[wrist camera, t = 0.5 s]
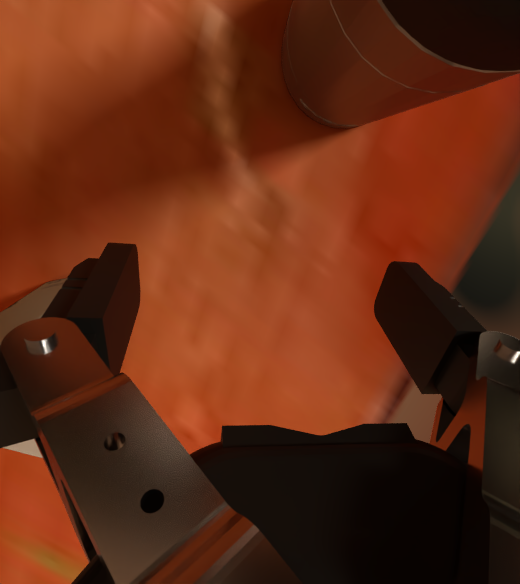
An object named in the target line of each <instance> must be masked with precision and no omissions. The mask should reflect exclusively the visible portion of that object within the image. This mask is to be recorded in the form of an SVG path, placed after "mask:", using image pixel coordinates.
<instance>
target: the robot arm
mask: <svg viewBox="0 0 520 584" xmlns="http://www.w3.org/2000/svg"><path fill="white" fill-rule="evenodd" d="M282 68H283V73H284V79H285V82H286V85H287V87H288V90H289V92H290V94H291V96H292V98H293V99H294V101H295V102H296V104H297V105H298V107H299V108H300V109H301V110H302V111H303V112H304V113H305V114H307V115H308V116H309V117H310V118H312V119H314V120H315V121H317V122H319V123H320V124H323V125H327V126H330V127H334V128H351V127H357V126H361V125H364V124H367V123H370V122H373V121H377V120H380V119H383V118H386V117H389V116H392V115H395V114H398V113H401V112H404V111H407V110H410V109H413V108H416V107H419V106H422V105H425V104H428V103H431V102H434V101H438V100H441V99H444V98H447V97H450V96H453V95H456V94H459V93H462V92H465V91H468V90H471V89H474V88H477V87H480V86H483V85H486V84H488V83H491V82H494V81H497V80H500V79H503V78H506V77H509V76H512V75H515V74H518V73H520V0H293V3H292V6H291V9H290V13H289V17H288V21H287V24H286V28H285V32H284V38H283V44H282ZM139 304H140V279H139V266H138V252H137V247H136V245H135V244H123V243H108V244H107V245H106V247H105V249H104V251H103V252H102V254H101V256H100V258H99V259H95V258H88V259H86V260H85V261H83V262H81V263H80V264H78V265H77V266H75V267H74V268H73V270H72V271H71V273H70V275H69V276H68V279H67V280H66V281H65V282H64V284H63V285H62V289H60V290H59V291H58V293H57V294H56V296H55V297H54V299H53V300H52V302H51V303H50V305H49V306H48V308H47V309H46V311H45V313H44V314H43V316H42V317H41V318H40V319H35V320H31V321H28V322H26V323H23V324H21V325H19V326H17V327H16V328H14V329H12V330H11V331H10V332H9V333H8V334H7V335H6V336H5V337H4V338H3V340H2V342H1V345H0V448H3V447H7V446H10V445H14V444H17V443H21V442H25V441H28V440H32V439H34V440H35V442H36V444H37V446H38V449H39V451H40V453H41V455H42V457H43V460H44V462H45V464H46V466H47V468H48V471H49V473H50V475H51V477H52V479H53V482H54V484H55V486H56V488H57V490H58V492H59V495H60V497H61V499H62V501H63V504H64V506H65V508H66V511H67V513H68V516H69V518H70V521H71V523H72V525H73V528H74V530H75V532H76V535H77V537H78V539H79V542H80V544H81V546H82V548H83V550H84V553H85V555H86V557H87V559H88V562H89V564H88V565H87V566H86V567H85V568H84V570H83V571H82V572H81V573H80V574H79V575H78V577H77V578H76V579H75V580H74V581H73V582H72V584H520V340H518V339H517V338H515V337H512V336H510V335H507V334H504V333H500V332H495V331H487V330H486V329H485V328H484V327H483V326H482V325H481V324H480V323H479V322H478V321H477V320H476V319H475V318H474V317H473V316H472V315H471V314H470V313H469V312H468V311H467V310H466V309H465V308H464V307H462V305H461V304H460V303H459V302H458V301H457V300H456V299H454V297H453V296H452V295H451V294H450V293H449V291H448V290H447V289H446V288H445V287H443V286H442V285H440V284H439V283H437V282H435V281H434V280H433V279H432V278H431V277H430V276H429V275H428V274H427V273H426V272H425V271H424V270H423V269H422V268H421V266H420V265H419V264H417V263H412V262H397V261H394V262H391V263H390V264H389V266H388V268H387V270H386V273H385V275H384V278H383V281H382V284H381V286H380V289H379V292H378V294H377V297H376V300H375V304H374V313H375V317H376V319H377V321H378V322H379V324H380V326H381V327H382V329H383V331H384V332H385V334H386V336H387V337H388V339H389V341H390V342H391V344H392V346H393V347H394V349H395V350H396V352H397V354H398V355H399V357H400V359H401V360H402V362H403V364H404V365H405V367H406V369H407V370H408V372H409V374H410V375H411V377H412V379H413V380H414V382H415V383H416V385H417V387H418V388H419V390H420V392H421V393H422V394H441V395H442V399H441V400H440V402H439V403H438V406H437V410H436V415H435V420H434V425H433V429H432V434H431V439H430V443H426V442H423V441H420V440H416V439H415V438H414V436H413V435H412V432H411V431H410V429H409V427H408V425H407V423H391V424H362V425H359V426H355V427H352V428H348V429H345V430H341V431H338V432H334V433H331V434H328V435H314V434H309V433H305V432H300V431H295V430H291V429H286V428H281V427H277V426H272V425H245V426H222V433H221V442H217V443H214V444H211V445H208V446H206V447H204V448H201V449H199V450H197V451H195V452H193V453H192V454H190V455H189V454H188V452H187V451H186V450H185V449H184V447H183V446H182V445H181V443H180V442H179V441H178V440H177V438H176V437H175V436H174V434H173V433H172V432H171V431H170V429H169V428H168V427H167V425H166V424H165V423H164V422H163V420H162V419H161V418H160V416H159V415H158V414H157V413H156V411H155V410H154V409H153V407H152V406H151V405H150V404H149V402H148V401H147V400H146V398H145V397H144V396H143V395H142V393H141V392H140V391H139V389H138V388H137V387H136V386H135V384H134V383H133V382H132V380H131V379H130V378H129V377H128V376H127V375H126V374H124V373H120V370H121V366H122V363H123V360H124V356H125V353H126V350H127V346H128V343H129V340H130V336H131V333H132V330H133V326H134V323H135V320H136V316H137V313H138V309H139ZM119 373H120V374H119Z"/></svg>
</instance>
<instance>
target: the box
mask: <svg viewBox="0 0 520 584" xmlns="http://www.w3.org/2000/svg"><path fill="white" fill-rule="evenodd" d="M67 279H68V278H66V279H60V280H55V281H50V282H47V283H45V284H43V285H42V286H40V287H39V288H37V289H36V290H34V291H33V292H31V293H29V294H28V295H26V296H25V297H23V298H22V299H20V300H19V301H17V302H16V303H14V304H13V305H11V306H10V307H8V308H7V309H5V310H3V311H2V312H0V345H1V342H2V340H3V338H4V337H5V336H6V335H7V334H8V333H9V332H10V331H11V330H12V329H14V328H16V327H17V326H19V325H21V324H23V323H26V322H28V321H31V320H35V319H40V318H41V317H42V316H43V314H44V313H45V311H46V309H47V308H48V306H49V305H50V303H51V302H52V300H53V299H54V297H55V296H56V294H57V293H58V291H59V290H60V289H62V285H63V284H64V282H65V281H66V280H67Z"/></svg>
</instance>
